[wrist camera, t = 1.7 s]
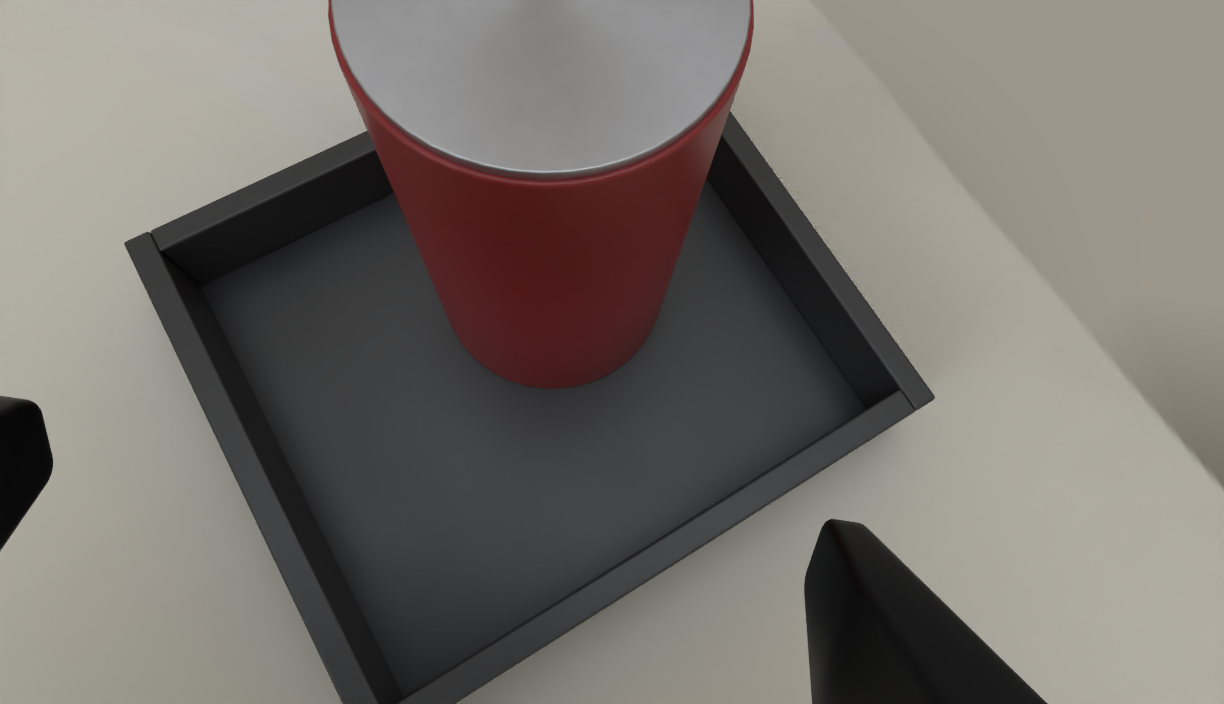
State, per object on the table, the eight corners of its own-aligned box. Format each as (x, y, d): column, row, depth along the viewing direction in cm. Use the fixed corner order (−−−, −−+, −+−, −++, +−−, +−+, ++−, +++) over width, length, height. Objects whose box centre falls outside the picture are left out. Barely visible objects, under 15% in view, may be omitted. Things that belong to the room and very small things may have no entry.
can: (510, 430, 22) (452, 258, 11) (404, 244, 24) (250, -87, 12) (703, 321, 24) (841, 60, 12) (591, 151, 25) (617, -230, 13)
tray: (395, 735, 20) (368, 758, 17) (174, 283, 23) (122, 242, 21) (892, 420, 23) (937, 397, 21) (641, 59, 27) (650, -2, 24)
